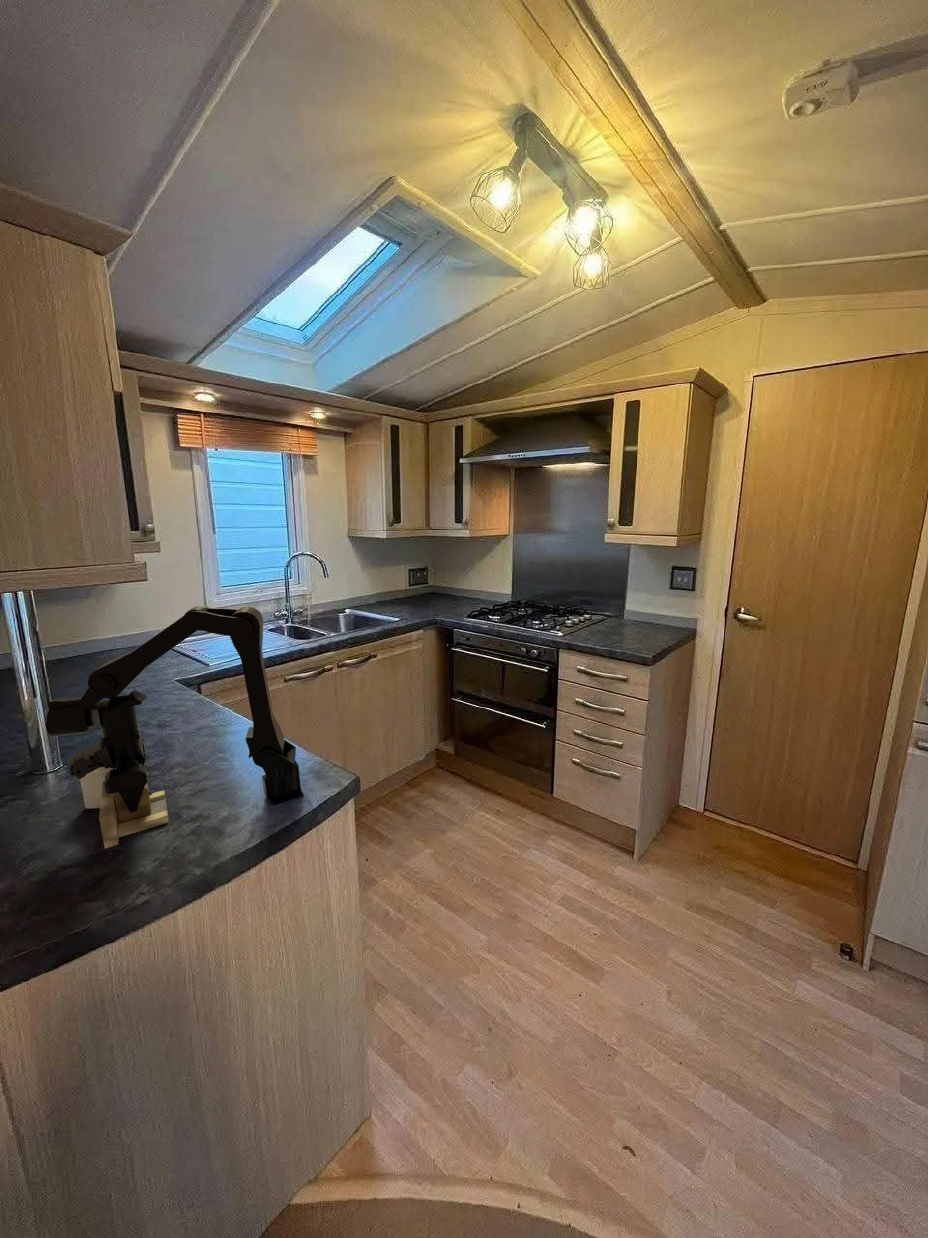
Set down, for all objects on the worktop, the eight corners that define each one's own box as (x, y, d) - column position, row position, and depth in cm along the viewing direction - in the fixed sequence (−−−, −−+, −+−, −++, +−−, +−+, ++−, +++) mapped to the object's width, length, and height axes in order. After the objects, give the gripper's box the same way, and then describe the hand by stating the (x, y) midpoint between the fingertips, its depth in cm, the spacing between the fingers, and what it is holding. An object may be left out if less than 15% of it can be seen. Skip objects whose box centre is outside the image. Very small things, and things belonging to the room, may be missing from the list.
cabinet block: (153, 803, 102) (149, 776, 101) (154, 814, 98) (149, 786, 97) (119, 812, 99) (114, 784, 98) (119, 825, 95) (114, 796, 94)
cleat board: (164, 791, 108) (160, 765, 107) (169, 828, 95) (165, 800, 93) (107, 806, 102) (103, 780, 101) (104, 848, 89) (99, 818, 88)
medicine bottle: (141, 789, 109) (133, 737, 107) (120, 808, 102) (111, 753, 100) (108, 790, 109) (98, 739, 106) (84, 809, 102) (74, 754, 99)
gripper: (71, 722, 98) (85, 795, 101) (60, 759, 83) (77, 843, 86) (138, 709, 104) (150, 778, 107) (140, 741, 89) (153, 821, 92)
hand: (133, 803), depth 98 cm, fingers open, 7 cm apart
